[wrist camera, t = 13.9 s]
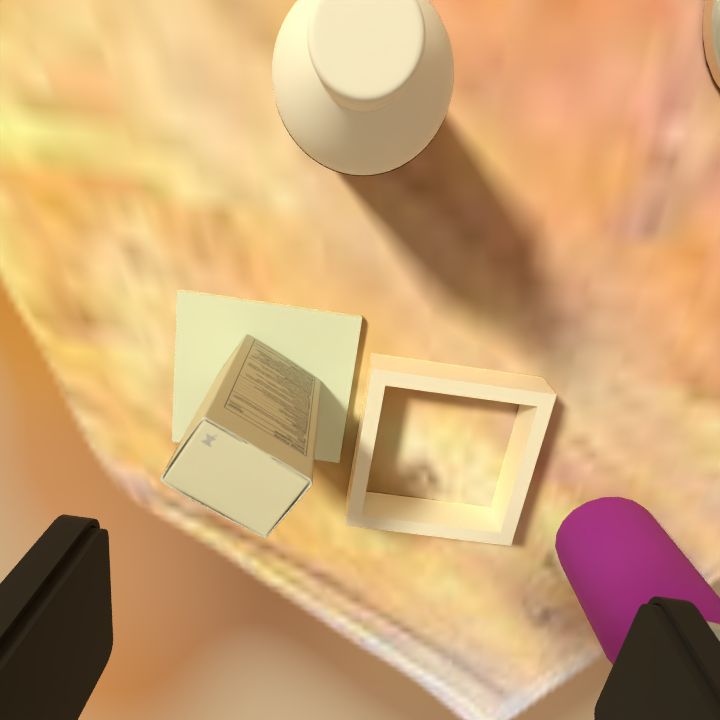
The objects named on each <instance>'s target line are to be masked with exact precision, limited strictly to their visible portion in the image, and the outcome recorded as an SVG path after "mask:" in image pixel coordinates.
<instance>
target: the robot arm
mask: <svg viewBox="0 0 720 720" xmlns="http://www.w3.org/2000/svg"><path fill="white" fill-rule="evenodd" d="M703 41H704V48H705V55H706V59H707V62H708V65H709V68H710V71H711V73H712V76H713V79H714V80H715V82H716V83H717V85H718V87H719V88H720V0H705V6H704V11H703ZM109 559H110V558H109V536H108V531H107V530H105V529H100V525H99V522H98V520H97V519H92V518H85V517H78V516H70V515H61V516H59V517H58V518H57V519H56V520H55V521H54V522H53V523H52V524H51V525H50V526H49V528H48V529H47V530H46V531H45V532H44V533H43V535H42V536H41V537H40V538H39V539H38V541H37V542H36V543H35V544H34V545H33V546H32V547H31V549H30V550H29V551H28V552H27V553H26V554H25V556H24V557H23V558H22V559H21V560H20V561H19V563H18V564H17V565H16V566H15V567H14V569H13V570H12V571H11V572H10V573H9V574H8V575H7V577H6V578H5V579H4V580H3V581H2V582H1V584H0V720H78V718H79V716H80V714H81V712H82V710H83V708H84V707H85V705H86V703H87V701H88V699H89V697H90V695H91V693H92V691H93V689H94V688H95V686H96V684H97V681H98V680H99V678H100V676H101V674H102V672H103V670H104V668H105V667H106V664H107V662H108V660H109V657H110V654H111V650H112V645H113V627H112V604H111V582H110V560H109ZM594 715H595V720H720V641H719V640H718V638H717V637H716V635H715V634H714V632H713V631H712V629H711V628H710V626H709V625H708V623H707V622H706V620H705V619H704V617H703V616H702V614H701V613H700V611H699V610H698V608H697V607H696V606H695V605H694V604H693V603H692V602H690V601H688V600H680V599H673V598H666V597H659V596H654V597H652V598H651V599H650V600H649V602H648V603H647V604H642V605H641V606H640V607H639V609H638V611H637V613H636V615H635V618H634V620H633V622H632V624H631V627H630V629H629V631H628V633H627V636H626V638H625V640H624V643H623V645H622V647H621V649H620V652H619V654H618V656H617V658H616V661H615V663H614V665H613V667H612V670H611V672H610V674H609V676H608V679H607V681H606V683H605V685H604V688H603V690H602V692H601V694H600V697H599V699H598V701H597V703H596V707H595V713H594Z"/></svg>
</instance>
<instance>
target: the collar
mask: <svg viewBox="0 0 720 720" xmlns="http://www.w3.org/2000/svg"><path fill="white" fill-rule="evenodd" d="M385 386H392V387H400V388H407V389H414V390H421V391H428V392H436V393H443V394H450V395H457V396H465V397H472V398H479V399H486V400H493V401H501V402H508V403H515V404H520V405H519V409H518V412H517V416H516V420H515V423H514V427H513V430H512V434H511V437H510V441H509V445H508V448H507V452H506V455H505V459H504V462H503V466H502V470H501V473H500V477H499V480H498V484H497V487H496V491H495V495H494V498H493V502H492V505H491V507H484V506H477V505H469V504H461V503H453V502H445V501H437V500H429V499H421V498H413V497H406V496H398V495H390V494H382V493H374V492H366V488H367V483H368V477H369V472H370V467H371V461H372V456H373V450H374V445H375V439H376V434H377V428H378V423H379V417H380V412H381V406H382V401H383V396H384V390H385ZM556 396H557V394H556V393H555V392H554V391H553V390H552V388H551V387H550V386H549V385H548V384H547V382H546V381H545V380H544V379H543V378H542V377H538V376H531V375H524V374H517V373H510V372H503V371H496V370H489V369H482V368H475V367H468V366H461V365H454V364H447V363H440V362H433V361H426V360H418V359H411V358H404V357H397V356H390V355H383V354H376V353H371V357H370V363H369V368H368V374H367V380H366V386H365V392H364V398H363V404H362V410H361V416H360V422H359V427H358V433H357V439H356V445H355V451H354V457H353V463H352V469H351V475H350V481H349V487H348V492H347V498H346V522H345V526H353V527H362V528H370V529H378V530H386V531H394V532H402V533H410V534H419V535H427V536H435V537H443V538H451V539H459V540H467V541H476V542H484V543H492V544H500V545H508V546H511V544H512V540H513V537H514V534H515V530H516V527H517V524H518V521H519V517H520V514H521V511H522V507H523V504H524V501H525V498H526V494H527V491H528V488H529V484H530V481H531V478H532V475H533V471H534V468H535V465H536V461H537V458H538V455H539V452H540V448H541V445H542V442H543V438H544V435H545V432H546V429H547V425H548V422H549V419H550V415H551V412H552V409H553V406H554V402H555V399H556Z"/></svg>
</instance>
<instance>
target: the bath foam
mask: <svg viewBox="0 0 720 720" xmlns="http://www.w3.org/2000/svg"><path fill="white" fill-rule="evenodd" d="M272 83H273V91H274V96H275V101H276V105H277V108H278V111H279V114H280V117H281V119H282V121H283V123H284V125H285V127H286V129H287V131H288V132H289V134H290V136H291V137H292V138H293V140H294V141H295V142H296V144H297V145H298V146H299V147H300V148H301V149H302V150H303V151H304V152H305V153H306V154H307V155H308V156H309V157H311V158H312V159H313V160H315V161H316V162H318V163H319V164H321V165H323V166H324V167H326V168H329V169H331V170H333V171H336V172H339V173H343V174H347V175H354V176H372V175H378V174H383V173H386V172H389V171H392V170H395V169H397V168H399V167H401V166H403V165H405V164H406V163H408V162H409V161H411V160H412V159H414V158H415V157H416V156H417V155H419V154H420V153H421V152H422V151H423V150H424V149H425V148H426V147H427V146H428V144H429V143H430V142H431V141H432V139H433V138H434V137H435V135H436V133H437V132H438V130H439V128H440V127H441V125H442V123H443V121H444V118H445V116H446V113H447V111H448V108H449V104H450V101H451V96H452V91H453V84H454V60H453V53H452V48H451V43H450V40H449V37H448V34H447V31H446V29H445V26H444V24H443V22H442V20H441V18H440V16H439V14H438V12H437V11H436V9H435V8H434V6H433V5H432V4H431V2H430V1H429V0H298V1H297V2H296V3H295V4H294V6H293V7H292V9H291V10H290V12H289V13H288V15H287V17H286V18H285V20H284V22H283V24H282V27H281V29H280V32H279V34H278V37H277V41H276V44H275V49H274V54H273V62H272Z"/></svg>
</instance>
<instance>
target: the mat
mask: <svg viewBox="0 0 720 720" xmlns="http://www.w3.org/2000/svg"><path fill="white" fill-rule="evenodd" d="M361 323H362V316H361V315H354V314H347V313H341V312H334V311H327V310H320V309H313V308H306V307H299V306H292V305H286V304H279V303H272V302H265V301H258V300H251V299H244V298H238V297H231V296H224V295H217V294H210V293H203V292H196V291H189V290H183V289H180V290H178V291H177V313H176V341H175V368H174V396H173V424H172V441H173V442H180V441H181V439H182V437H183V435H184V434H185V432H186V430H187V428H188V426H189V425H190V423H191V421H192V419H193V418H194V416H195V414H196V412H197V410H198V409H199V407H200V405H201V403H202V401H203V400H204V398H205V396H206V394H207V392H208V391H209V389H210V387H211V385H212V383H213V382H214V380H215V378H216V377H217V375H218V373H219V372H220V370H221V368H222V367H223V365H224V364H225V363H226V361H227V360H228V358H229V357H230V355H231V354H232V352H233V351H234V350H235V348H236V347H237V346H238V344H239V343H240V342H241V340H242V339H243V338H244V336H245V335H246V334H249V335H251V336H252V337H254V338H256V339H257V340H259V341H261V342H262V343H264V344H266V345H267V346H269V347H271V348H272V349H274V350H275V351H277V352H279V353H280V354H282V355H283V356H285V357H286V358H288V359H289V360H291V361H293V362H294V363H296V364H297V365H299V366H300V367H302V368H303V369H305V370H306V371H308V372H309V373H311V374H312V375H313V376H315V377H316V378H318V379H319V380H320V381H321V393H320V404H319V415H318V426H317V437H316V449H315V459H314V460H320V461H327V462H335V463H339V461H340V455H341V448H342V442H343V436H344V430H345V423H346V417H347V411H348V405H349V398H350V392H351V386H352V380H353V373H354V367H355V361H356V355H357V348H358V342H359V336H360V329H361Z"/></svg>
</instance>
